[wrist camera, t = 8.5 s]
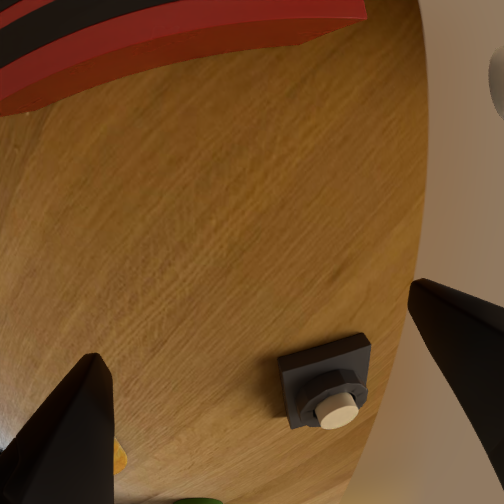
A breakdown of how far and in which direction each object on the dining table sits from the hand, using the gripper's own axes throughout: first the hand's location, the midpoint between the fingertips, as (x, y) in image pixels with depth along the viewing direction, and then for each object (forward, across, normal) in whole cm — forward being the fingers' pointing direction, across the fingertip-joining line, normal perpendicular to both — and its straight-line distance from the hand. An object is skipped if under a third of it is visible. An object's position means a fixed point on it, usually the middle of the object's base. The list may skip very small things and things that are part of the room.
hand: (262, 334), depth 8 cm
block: (+12, -6, +20) cm, 24 cm away
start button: (+9, -6, +20) cm, 23 cm away
